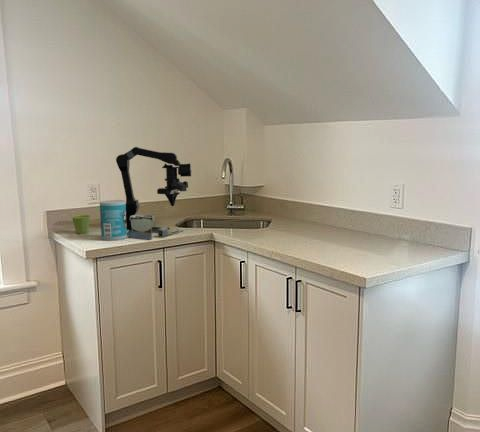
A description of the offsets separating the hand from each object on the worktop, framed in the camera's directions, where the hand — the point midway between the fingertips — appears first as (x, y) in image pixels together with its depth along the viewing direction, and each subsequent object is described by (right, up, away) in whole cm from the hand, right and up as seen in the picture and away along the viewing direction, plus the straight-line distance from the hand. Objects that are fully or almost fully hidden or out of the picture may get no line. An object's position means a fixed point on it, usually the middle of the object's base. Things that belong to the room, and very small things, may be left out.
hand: (172, 205), depth 259 cm
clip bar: (0, -15, -18) cm, 24 cm away
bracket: (-10, -15, -17) cm, 25 cm away
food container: (-12, -15, -16) cm, 25 cm away
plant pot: (-45, -14, -10) cm, 48 cm away
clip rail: (+1, -15, -16) cm, 21 cm away
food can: (-25, -16, -24) cm, 38 cm away
